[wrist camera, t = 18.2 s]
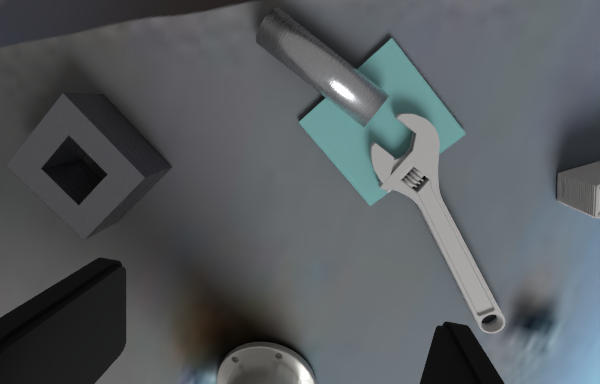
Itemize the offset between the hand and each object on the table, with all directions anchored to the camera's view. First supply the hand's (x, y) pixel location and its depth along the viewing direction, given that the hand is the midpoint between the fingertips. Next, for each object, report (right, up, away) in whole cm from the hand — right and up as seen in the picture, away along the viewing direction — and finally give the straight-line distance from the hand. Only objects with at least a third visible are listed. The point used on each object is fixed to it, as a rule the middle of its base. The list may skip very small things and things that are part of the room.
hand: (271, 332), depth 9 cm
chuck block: (-20, +7, +25) cm, 33 cm away
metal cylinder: (+8, +11, +18) cm, 23 cm away
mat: (+9, +10, +21) cm, 25 cm away
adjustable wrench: (+15, 0, +23) cm, 27 cm away
